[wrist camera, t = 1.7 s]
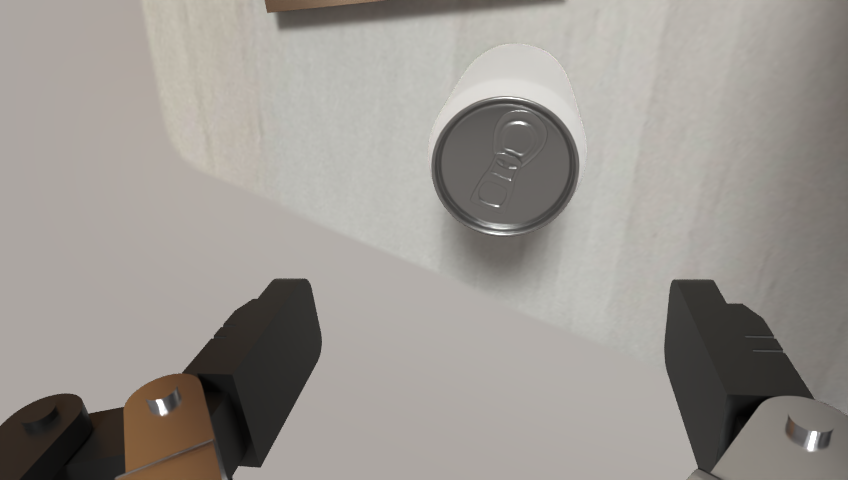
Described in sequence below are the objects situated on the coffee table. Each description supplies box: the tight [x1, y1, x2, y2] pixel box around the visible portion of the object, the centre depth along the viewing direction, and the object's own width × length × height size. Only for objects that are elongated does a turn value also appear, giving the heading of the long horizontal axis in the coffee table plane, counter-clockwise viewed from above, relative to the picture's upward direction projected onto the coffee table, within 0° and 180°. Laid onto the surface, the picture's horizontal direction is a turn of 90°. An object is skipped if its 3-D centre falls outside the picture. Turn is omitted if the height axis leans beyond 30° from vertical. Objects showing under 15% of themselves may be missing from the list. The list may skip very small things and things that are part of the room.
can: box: [428, 43, 587, 237], centre depth 27 cm, size 6×6×12 cm
